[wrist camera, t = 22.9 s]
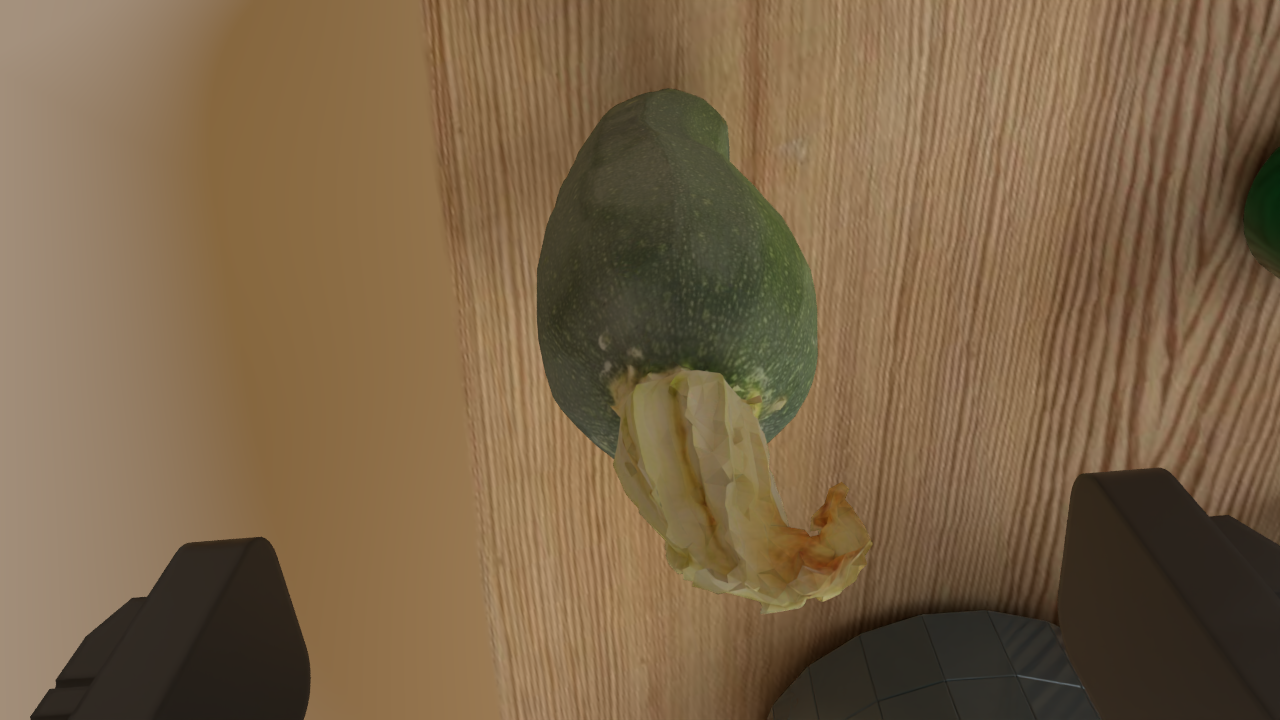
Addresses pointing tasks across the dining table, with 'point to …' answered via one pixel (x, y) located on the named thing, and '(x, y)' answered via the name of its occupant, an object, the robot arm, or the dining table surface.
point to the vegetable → (690, 348)
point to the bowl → (943, 673)
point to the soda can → (1265, 215)
